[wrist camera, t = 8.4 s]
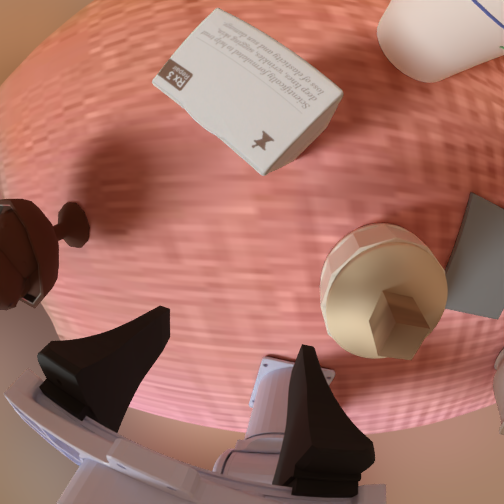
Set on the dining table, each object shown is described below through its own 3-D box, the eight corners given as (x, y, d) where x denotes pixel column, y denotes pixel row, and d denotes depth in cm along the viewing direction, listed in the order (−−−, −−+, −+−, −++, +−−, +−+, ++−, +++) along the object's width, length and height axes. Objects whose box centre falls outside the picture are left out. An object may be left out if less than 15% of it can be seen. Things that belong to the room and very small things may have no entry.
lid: (411, 357, 19) (424, 396, 15) (310, 341, 20) (308, 383, 16) (461, 259, 15) (491, 288, 11) (348, 226, 17) (361, 252, 12)
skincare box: (329, 125, 18) (360, 91, 7) (289, 165, 20) (267, 185, 9) (268, 73, 17) (221, -4, 6) (230, 114, 19) (144, 83, 8)
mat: (496, 317, 20) (497, 319, 20) (430, 302, 21) (432, 305, 21) (532, 227, 16) (535, 228, 15) (470, 192, 17) (473, 193, 16)
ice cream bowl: (88, 163, 23) (-38, 198, 9) (119, 263, 26) (16, 343, 13) (40, 194, 26) (-54, 232, 12) (67, 274, 29) (-15, 333, 16)
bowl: (401, 334, 23) (411, 361, 19) (306, 316, 24) (305, 344, 21) (443, 240, 19) (465, 257, 15) (338, 208, 20) (345, 221, 17)
